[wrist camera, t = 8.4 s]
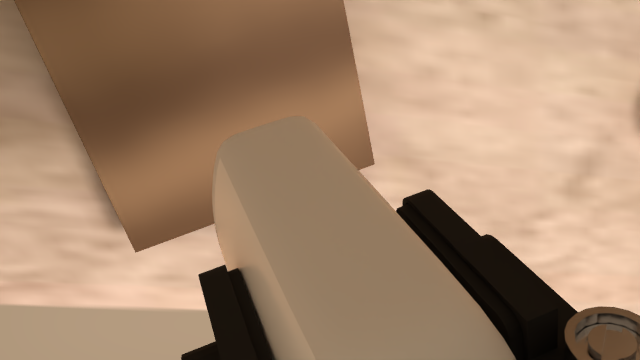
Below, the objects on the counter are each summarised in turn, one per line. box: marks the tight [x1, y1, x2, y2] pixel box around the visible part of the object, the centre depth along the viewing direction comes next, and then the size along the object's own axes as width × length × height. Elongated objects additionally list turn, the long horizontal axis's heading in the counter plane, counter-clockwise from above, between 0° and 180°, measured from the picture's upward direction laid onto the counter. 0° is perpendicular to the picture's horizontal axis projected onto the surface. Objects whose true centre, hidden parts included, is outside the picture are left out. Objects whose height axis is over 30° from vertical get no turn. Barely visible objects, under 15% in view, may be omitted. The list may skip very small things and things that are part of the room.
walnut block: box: [14, 0, 374, 252], centre depth 26 cm, size 14×12×3 cm
